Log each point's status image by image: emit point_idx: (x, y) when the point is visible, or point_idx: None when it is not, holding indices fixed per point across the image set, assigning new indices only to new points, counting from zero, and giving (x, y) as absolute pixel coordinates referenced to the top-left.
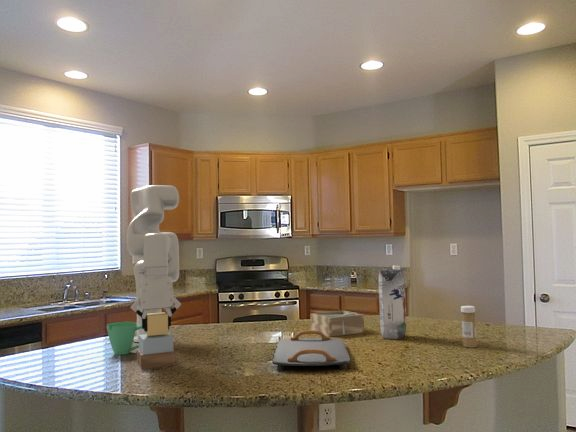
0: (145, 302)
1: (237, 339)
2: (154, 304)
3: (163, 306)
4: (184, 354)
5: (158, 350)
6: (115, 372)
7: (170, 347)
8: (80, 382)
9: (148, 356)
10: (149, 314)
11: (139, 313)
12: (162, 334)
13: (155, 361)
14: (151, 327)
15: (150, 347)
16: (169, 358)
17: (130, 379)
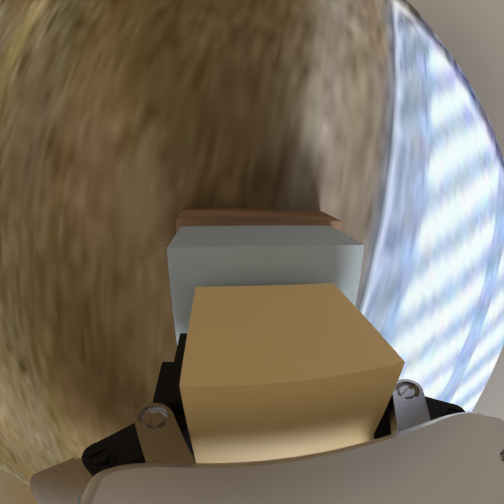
0: (497, 459)
1: (16, 416)
2: (394, 483)
3: (242, 480)
4: (131, 356)
5: (259, 228)
6: (397, 213)
7: (193, 231)
8: (469, 158)
9: (305, 218)
10: (349, 440)
11: (442, 409)
12: None
13: (268, 212)
14: (332, 308)
15: (307, 231)
16: (204, 213)
17: (370, 88)
